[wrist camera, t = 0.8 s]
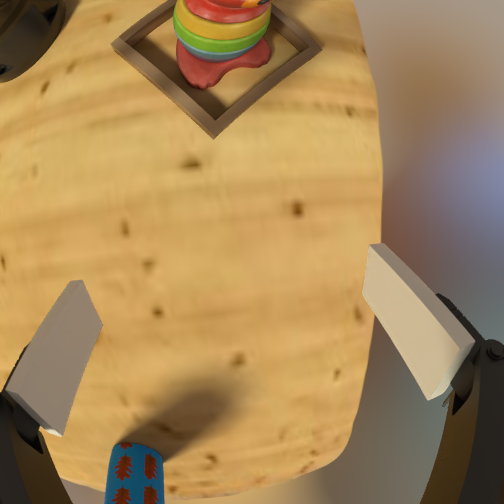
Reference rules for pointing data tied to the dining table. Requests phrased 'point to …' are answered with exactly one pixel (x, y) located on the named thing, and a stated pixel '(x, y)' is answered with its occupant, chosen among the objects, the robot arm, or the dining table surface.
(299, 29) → the collar
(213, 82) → the stacking bear
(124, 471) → the thermos
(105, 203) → the dining table surface
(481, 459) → the robot arm
